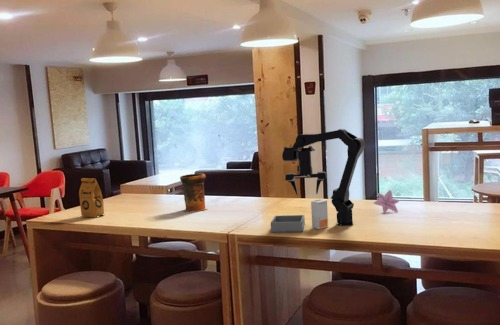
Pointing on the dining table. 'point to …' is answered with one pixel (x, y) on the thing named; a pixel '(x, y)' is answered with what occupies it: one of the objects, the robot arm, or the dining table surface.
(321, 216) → the skincare box
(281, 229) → the box
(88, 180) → the coffee package
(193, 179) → the vessel
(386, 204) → the lily
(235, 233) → the dining table surface
